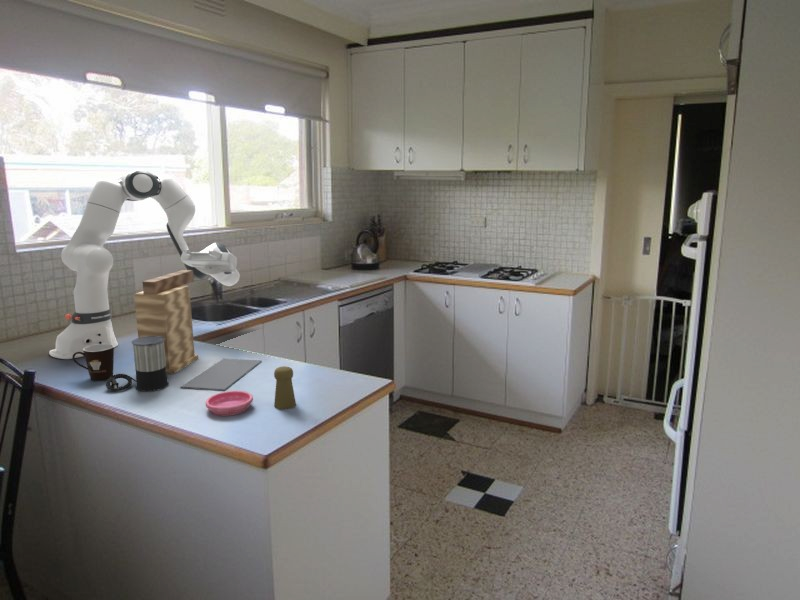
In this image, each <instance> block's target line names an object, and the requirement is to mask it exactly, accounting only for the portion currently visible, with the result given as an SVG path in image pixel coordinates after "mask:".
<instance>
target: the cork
mask: <svg viewBox="0 0 800 600" xmlns="http://www.w3.org/2000/svg"><path fill="white" fill-rule="evenodd" d="M273 374H274V375H273V376H274V379H275V380H276V381H275V390H274V391H275V392H274V402H273V403H274V404H273V405H274V407H273V408H274V409H277V410H290V409H293V408H295V407H296V406H297V403H296V397H295V391H294V387H293V386H294V385H293V381H292V379H293V377H294V370H293V368H292V367H290V366H279V367H277V368H275V370H274V371H273Z"/></svg>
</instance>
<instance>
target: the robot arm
mask: <svg viewBox="0 0 800 600" xmlns="http://www.w3.org/2000/svg"><path fill="white" fill-rule="evenodd" d="M149 198H151V199H153V200H155V201H156V202H157V203H159V205H160V207H161V208H162V210H163V211H164V213H165V214H166V217H167V223H166V230H167V233H168V235H169V237H170V239H171V241H172V243H173V244H174V248H175V249H176V251H177V253H178V255H179V257H180V261H181V262H182V263H183V264H184V267H185V270H193V277H194V280H199V281H200V280H204V279H206V278H207V277H208V276H211V278H213V279H214V280H216V281H217V282H218V283H220V284H221V285H223V286H225V287H232V286H234V285H236V284H237V283H238V282H239V280H240V277H241V274H240V272H239V270H238V269H237V264H238V257H236V256H235V255H234V254H233V253H232V252H231V250H229V248H228V247H227V246H226V245H225V244H224V243H221V242H217V241H216V242H213V243H212V244H210V245H208V246H206V247H205V248H204V249H202V250H200V251H192V250H191V249H189V247H188V244H187V242H186V240H185V238H184V231H185V230H186V229H187V227H188V225H189V224H190V223H191V221H192V220H193V218H194V216H195V212H196V205H195V204H194V202H193V201H194V200H192V197H190V195H189V194H188V193H187V192H186V190H185V188H183V187H182V185H181V184H180V183H179V182H178V181H177V180H176V179H175V178H174V177H172V176H171V175H170V174H162V175H159V176H157V175H155V174H153V173H152V172H149V171H147V170H145V169H141V168H140V169H139V168H138V169H133V170H131V171H128V172H126V173H125V174H124V175H122V176H121V177H119V179H117V180H114V179H112V178H102V179H99V180H97V182H96V184H95V185H94V186H93V189H92V191H91V192H90V194H89V197H88V199H87V202H86V205H85V208H84V212H83V214H82V217H81V219H80V222H79V224H78V226H77V228H76V230H75V232H74V233H73V235H72V236H71V238H70V240H69V242H68V243H67V244H66V245H65V246H64V247H63V249H61V253H60V259H61V262H62V263H63V264H64V265H65V266H66V267H67V268H68V269H69V270H71V271H73V272H76V280H75V281H76V282H75V287H74V289H73V293H72V294H73V299H74V301H73V302H74V307H75V312H74V313H73V314H70V313H66V314H65V315H64V316H65V319H66V320H69V321H70V320H71V323H70V324H69V325H68V326H67V327H65V329H64V330H62V331H61V332H60V333H59V334H58V335H57V336H56V339H55V348H54V349H50V350H49V352H48V353H49V356H50V357H53V358H56V359H60V360H61V359H62V360H73V354H74V353H76V352H83V349H84V348H85V347H87V346H91V345H96V344H112V345H114V348H116V347H117V346H118V345H119V343H118V340H117V339H116V335H115V333H114V329H113V324H112V321H113V320H112V318H113V317H112V310H111V308H110V302H109V293H108V289H109V288H108V285H109V278H110V277H109V276H110V271H111V269H112V268H113V266H114V256H113V255H112V253H111V252H110V251H109V250H108V249H107V248H106V247H104V245H105V243H106V242H107V241H108V240H109V238H110V237H112V236H113V234H114V231H115V229H116V226H117V222H118V220H119V217H120V214H121V211H122V206H123V204H124V203H125V201H130V202H139V201H144V200H146V199H149ZM83 353H84V352H83ZM82 357H84V356H83V355H82V354H76V355H75V359H76V358H82Z"/></svg>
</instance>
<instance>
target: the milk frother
mask: <svg viewBox="0 0 800 600" xmlns="http://www.w3.org/2000/svg"><path fill="white" fill-rule="evenodd" d="M164 340H165V338H163V337H160V336H147V337H141V338H138V337H137V338H134V339H133V340H132V341H131V344H132V348H133V349H132V350H133V356H134V367H135V379H134V378H133V377H132V376H130V375H128V374H126V373H116V374H113V376H111V377H110V378H109V379H108V380H105V388H106V389H107V390H109V391H114V392H120V391H124V390H127V389H129V388H130V387H131V386H132V384H133V382H135V383H136V385H135V389H136V390H137V391H140V392H155V391H160V390H163V389H165V388H167V387H168V386H169V380H168V379H169V378H168V373H167V372H166V359H165V348H164ZM117 379H123V380H126V381H127V383H126V384H124V385H122V386H119V385H120V383H119V382H118V381H117Z"/></svg>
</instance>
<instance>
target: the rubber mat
mask: <svg viewBox="0 0 800 600" xmlns="http://www.w3.org/2000/svg"><path fill="white" fill-rule="evenodd" d="M261 363H262V360H260V359H244V358H241V359H239V358H222V359H220V360H219V361H217V362H216V363H214V364H213V365H211V366H210V367H208V368H207V369H205V370H204V371H202V372H201V373H200V374H198V375H196V376H195V377H193V378H191V379H190V380H188V381H187V382H186V383H183V384H182V385H181V386H180V389H188V390H189V389H190V390H191V389H192V390H204V391H205V390H206V391H217V392H218V391H221V392H222V391H223V392H226V391H227V390H228V389H229V388H231V387H232V386H233V385H234V384H235V383H237V382H238V381H239V380H241V377H242V376H243V375H244V376H246V375H247V374H248V373H249V372H251V371H252V370H253V369H255V368H256V367H257V366H258V365H260V364H261ZM255 366H256V367H255ZM251 369H252V370H251ZM250 370H251V371H250ZM247 372H248V373H247ZM246 373H247V374H246ZM244 376H243V377H244ZM238 379H239V380H238ZM237 380H238V381H237ZM232 384H233V385H232Z"/></svg>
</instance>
